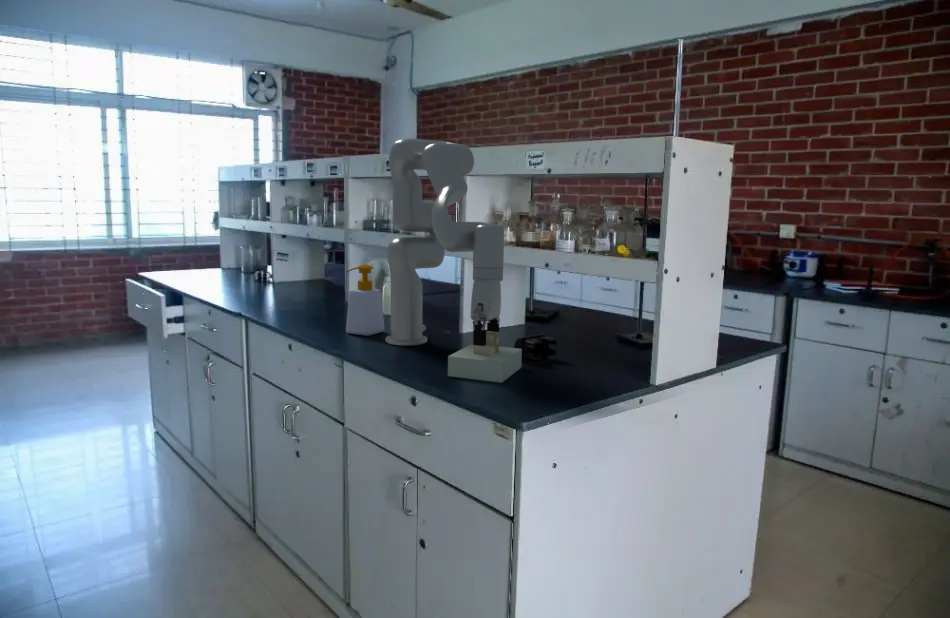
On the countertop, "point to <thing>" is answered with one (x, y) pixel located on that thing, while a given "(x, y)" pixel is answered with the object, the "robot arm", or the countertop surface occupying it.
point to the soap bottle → (364, 307)
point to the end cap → (536, 348)
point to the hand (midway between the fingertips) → (486, 341)
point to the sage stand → (485, 364)
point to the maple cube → (488, 344)
